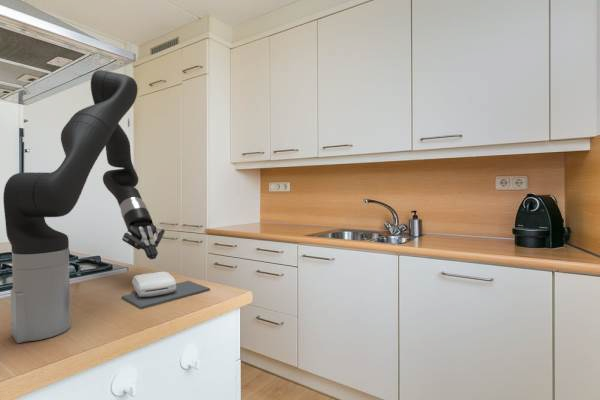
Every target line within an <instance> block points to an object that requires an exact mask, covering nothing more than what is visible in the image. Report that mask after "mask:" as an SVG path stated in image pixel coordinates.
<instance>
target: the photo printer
mask: <svg viewBox="0 0 600 400" xmlns="http://www.w3.org/2000/svg"><path fill="white" fill-rule="evenodd" d="M131 283H132V286H133V288H134V290H135V293H137V294H138V296H139V297H152V296H159V295H164V294H168V293H171V292H174V291H175V290H176V283H177V282H176V279H175V278H174V276H172V275H171V273H169V272H168V271H158V272H157V271H156V272H150V273H142V274H138V275H134V276H133V278H132V281H131Z"/></svg>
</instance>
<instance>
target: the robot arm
mask: <svg viewBox="0 0 600 400" xmlns="http://www.w3.org/2000/svg"><path fill="white" fill-rule="evenodd" d="M90 92H91V96H92V101H93V104H92V105H90V106H86V107H84V108H82V109H80V110H78V111H77V112H75V113H74V114H73V115H72V116H71V118H70V119H69V120H68V121H67V123H66V124H65V125H64V126H63V128H62V130H61V133H60V143H61V147H62V149H63V152H64V155H65V157H64V159H63V161H62V163H61V164H60V165H59V166H58V168H57V169H55V170H54V171H52V172H30V171H29V172H17V173H15V174H12V175H11V176H10V177H9V178H8V179H7V181H6V183H5V184H4V188H3V189H4V190H3V198H2V199H3V211H4V212H3V213H4V221H5V231H6V232H5V233H6V236H7V239H8V242H9V243H10V246H11V262H12V263H11V264H12V265H11V266H12V273H11V274H12V288H11V289H10V307H11V309H10V310H11V311H10V313H11V314H10V315H11V335H12V337H13V339H14V341H15V342H16V344H21V343H25V342H33V341H41V340H45V339H46V340H47V339H49V338H52V337H55V336H58V335H61V334H63V333H64V332H66V331H68V330H69V329H70V328H71V294H70V291H71V290H70V262H69V261H70V253H69V252H70V251H69V250H70V248H69V247H70V245H69V241H70V240H69V236H68V235H67V234H65V233H64V232H61V231H58V230H56V229H54V228H52V227H51V226H49V224H48V223H47V222H46V220H45V219H46V218H60V217H64V216H66V215H68V214H69V213H71V212H72V210H73V209H74V208H75V206H76V204H77V203H78V201H79V199H80V197H81V195H82V192H83V190H84V187H85V184H86V183H87V180H88V179H89V178H88V177H89V176H90V173H91V171H92V169H93V168H94V165H95V164H96V161H97V160H98V158H99V156H100V155H101V153H103V150H104V149H105V153H106V154H105V155H106V159H107V160H106V161H107V164H108V165H109V166H111V167H113V168H117V169H111V170H107V171H105V172H104V174H103V175H102V181H103V184H104V186H105V188H106V189H107V190H108V191H109V193H111V195H113V196H114V198H115V199H116V201H117V203H118V207H119V209H120V214H121V217H122V218H123V222H124V224H125V227H126V228H127V232H125V233H123V237H122V239H121V240H122V241H123V242H125V243H127V244H128V245H130V246H131V247H133V248H134V249H136V250H138V251H139V250H143V251H144V253H145V256H146V258H148V259H149V260H156V258H157V256H158V254H159V252H158V249H157V247H158V246H159V244H160V243H161V240H162V238H163V236H164V234H165V232H166V231H165V229H158V228H157V226H156V225H155V224H154V222H153V218H152V217H151V214H150V212H149V210H148V208H147V206H146V203H145V202H144V201H143V198H142V196H141V194H140V192H139V190H138V188H136V187H137V185H138V184H139V176H138V174H137V172H136V169H135V168H134V164H133V161H132V154H131V142H130V139H129V137H128V135H127V134H126V131H125V130H124V129H123V128H122V126H121V125H120V124H119V123H120V122H121V121H122V118H124V116H125V115H126V114H127V113H128V112H129V110H130V109H131V108H132V107H133V106H134V104H135V102H136V99H137V95H138V84H137V81H136V80H135V79H134V78H133V77H131V76H129V75H127V74H124V73H118V72H112V71H107V70H104V69H103V70H102V69H101V70H100V69H98V70H95V71H94V72H93V74H92V75H91V78H90ZM154 236H156V240H155V239H154V238H155V237H154Z"/></svg>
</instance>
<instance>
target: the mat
mask: <svg viewBox="0 0 600 400" xmlns="http://www.w3.org/2000/svg"><path fill="white" fill-rule="evenodd" d="M209 291H211V288H210V287H207V286H205V285H202V284H200V283H199V284H198V283H196V282H194V281H191V280H186V281H182V282H178V283H177V282H176V290H175V291H174V292H171V293H168V294H164V295H159V296H152V297H139V296H138V294H137V292H133V293H130V294H125V295H121V299H122V300H124V301H126V302H128V303H129V304H130V305H132V306H135V307H136V308H137V309H140V310H142V309H146V308H150V307H154V306H156V305H162V304H164V303H167V302H171V301H175V300H179V299H183V298H187V297H190V296H194V295H197V294H201V293H205V292H209Z"/></svg>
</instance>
